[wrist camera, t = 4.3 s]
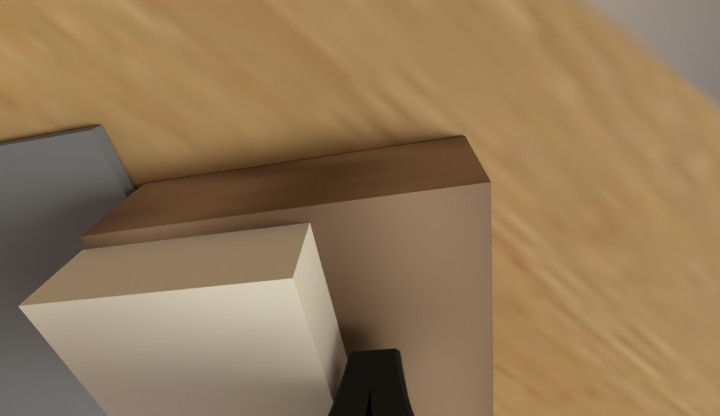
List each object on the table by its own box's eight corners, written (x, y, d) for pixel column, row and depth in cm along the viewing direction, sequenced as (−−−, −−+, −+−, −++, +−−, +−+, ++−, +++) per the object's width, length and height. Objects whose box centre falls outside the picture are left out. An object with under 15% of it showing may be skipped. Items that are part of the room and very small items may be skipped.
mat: (41, 447, 21) (33, 456, 20) (-234, 183, 13) (-255, 189, 12) (263, 435, 19) (260, 445, 19) (101, 124, 11) (90, 130, 11)
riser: (245, 383, 17) (220, 454, 14) (144, 183, 12) (80, 236, 10) (474, 366, 16) (493, 441, 13) (464, 135, 11) (490, 182, 8)
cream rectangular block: (209, 446, 14) (184, 509, 12) (82, 249, 10) (17, 306, 8) (369, 438, 13) (367, 506, 12) (310, 222, 9) (292, 278, 7)
